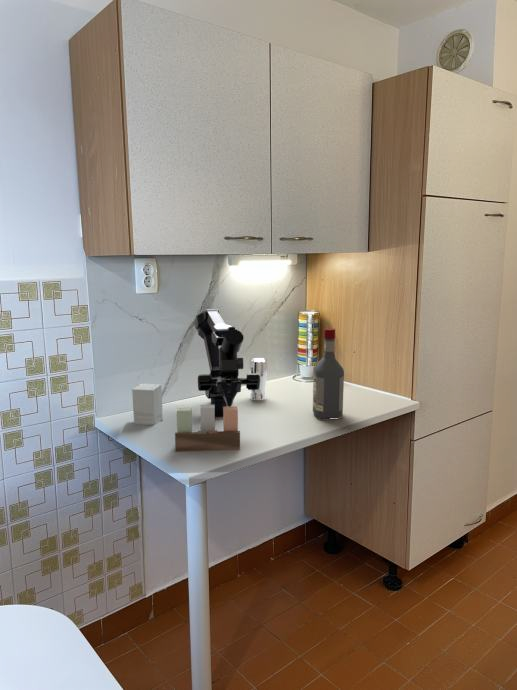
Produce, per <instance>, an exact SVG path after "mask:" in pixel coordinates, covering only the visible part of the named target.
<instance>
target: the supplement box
mask: <svg viewBox="0 0 517 690" xmlns="http://www.w3.org/2000/svg"><path fill="white" fill-rule="evenodd" d="M131 391H132V407H133V409H132V410H133V412H132V413H133V424H135V425H143V426H149V425H150V426H155V425H157V424H158V423H160V422H163V420H164V418H163V415H164V414H163V393H162V384H158V383H157V384H156V383H155V384H154V383H140V384H138V385H136V386H135V387H133V388H132V389H131Z"/></svg>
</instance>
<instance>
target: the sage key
mask: <svg viewBox="0 0 517 690" xmlns="http://www.w3.org/2000/svg"><path fill="white" fill-rule="evenodd" d="M192 408H193V407H189V406H188V407H177V409H176V432H193V411H192Z"/></svg>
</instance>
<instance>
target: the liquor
mask: <svg viewBox="0 0 517 690" xmlns="http://www.w3.org/2000/svg"><path fill="white" fill-rule="evenodd" d="M323 334H324V335H323V338H324V346H323V347H324V350H323V354H322V355H323V356H322V358H321V359H320V360H319V361H318V362H317V363H316V364H315V365H314V367H313V377H312V378H313V381H312V382H313V383H312V384H313V386H312V413H313V414H315V415H314V416H315V417H316V418H317V419H318V418H321V419H320V420H322V419H330V418H339V417H341V416H343V412H344V385H345V371H344V368H343V366H342V365H341V364H340V363H339V361H338V360H337V358H336V355H335V339H336V328H327V327H326V328H324V333H323ZM341 418H342V417H341ZM339 419H340V418H339Z"/></svg>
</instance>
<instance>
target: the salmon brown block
mask: <svg viewBox="0 0 517 690" xmlns="http://www.w3.org/2000/svg"><path fill="white" fill-rule="evenodd" d="M238 412H239V409H238V406H237V405H236V406H234V405H232V406H231V407H228V406H227V407H223V416H222V417H223V431H239V423H238V422H239V413H238Z"/></svg>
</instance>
